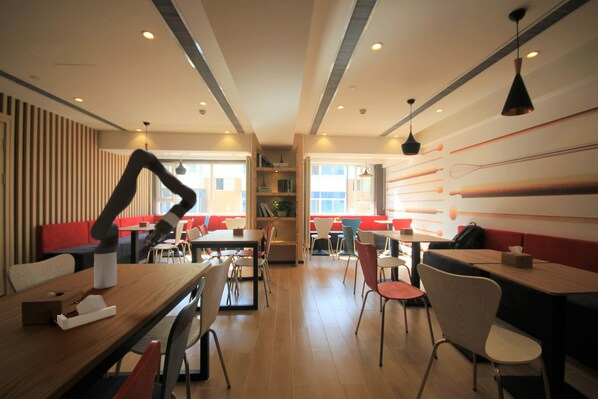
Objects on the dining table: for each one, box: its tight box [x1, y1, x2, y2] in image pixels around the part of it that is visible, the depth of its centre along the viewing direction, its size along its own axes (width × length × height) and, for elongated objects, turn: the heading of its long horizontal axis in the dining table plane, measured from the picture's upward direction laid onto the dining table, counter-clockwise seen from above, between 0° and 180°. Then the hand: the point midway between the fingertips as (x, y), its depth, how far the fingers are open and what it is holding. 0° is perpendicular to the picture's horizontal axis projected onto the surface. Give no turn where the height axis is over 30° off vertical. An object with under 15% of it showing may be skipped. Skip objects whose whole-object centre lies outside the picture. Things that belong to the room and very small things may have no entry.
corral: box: [55, 305, 117, 331], centre depth 97 cm, size 17×15×3 cm
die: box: [76, 294, 108, 316], centre depth 95 cm, size 8×9×10 cm
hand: (140, 254), depth 114 cm, fingers closed
